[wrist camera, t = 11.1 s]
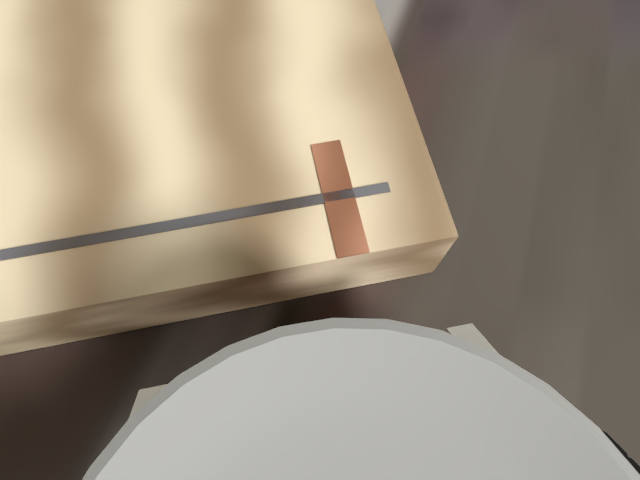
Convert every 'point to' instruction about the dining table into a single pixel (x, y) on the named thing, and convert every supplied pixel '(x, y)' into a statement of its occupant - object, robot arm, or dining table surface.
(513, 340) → the dining table surface
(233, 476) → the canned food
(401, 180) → the maple plank
